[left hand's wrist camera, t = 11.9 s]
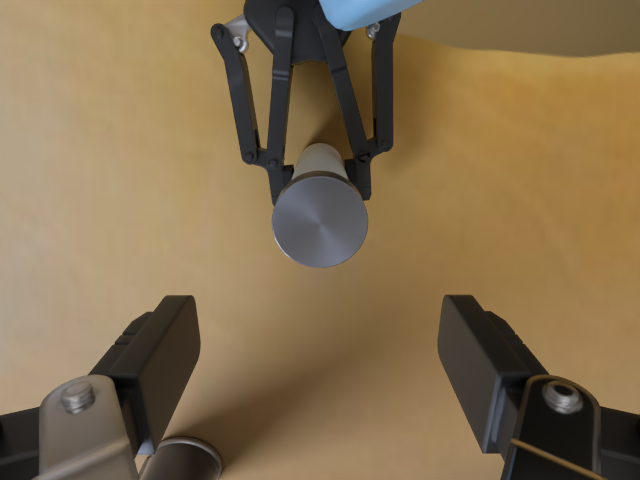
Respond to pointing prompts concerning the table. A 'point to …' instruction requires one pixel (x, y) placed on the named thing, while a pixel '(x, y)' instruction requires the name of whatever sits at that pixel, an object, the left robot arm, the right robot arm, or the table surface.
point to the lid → (319, 219)
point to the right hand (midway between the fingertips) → (325, 238)
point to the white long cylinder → (319, 160)
